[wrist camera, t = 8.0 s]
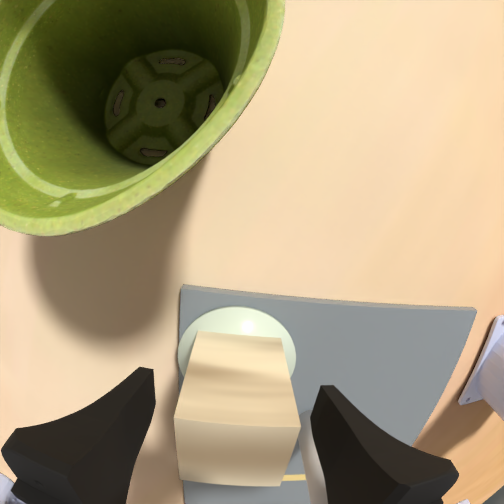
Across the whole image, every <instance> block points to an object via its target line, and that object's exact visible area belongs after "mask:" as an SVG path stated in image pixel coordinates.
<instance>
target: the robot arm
mask: <svg viewBox="0 0 504 504" xmlns="http://www.w3.org/2000/svg"><path fill="white" fill-rule="evenodd" d="M482 399H484V400H485V401H486V402H487V403H488V404H489V405H490V406H491V407H492V409H493V410H494V411H495V412H496V413H497V414H498V415H499V416H500V417H501V419H502V420H503V421H504V315H499V316H497V317H496V318H495V320H494V322H493V325H492V327H491V330H490V333H489V335H488V338H487V340H486V343H485V345H484V348H483V350H482V352H481V355H480V357H479V359H478V361H477V364H476V366H475V368H474V370H473V372H472V374H471V376H470V378H469V380H468V382H467V384H466V386H465V388H464V390H463V392H462V394H461V396H460V398H459V400H458V403H459V404H460V405H464V404H468V403H472V402H475V401H479V400H482ZM155 404H156V400H155V388H154V372H153V369H149V368H144V367H139V368H138V369H136V370H135V371H134V372H133V373H132V374H131V375H129V376H128V377H127V378H126V379H125V380H123V381H122V382H121V383H120V384H119V385H117V386H116V387H115V388H113V389H112V390H111V391H110V392H108V393H107V394H105V395H104V396H102V397H101V398H100V399H98V400H97V401H95V402H94V403H92V404H90V405H89V406H87V407H85V408H83V409H81V410H79V411H77V412H75V413H73V414H70V415H68V416H65V417H63V418H60V419H58V420H54V421H51V422H48V423H44V424H40V425H36V426H30V427H23V428H16V429H15V431H14V432H13V433H12V434H11V436H10V437H9V439H8V440H7V441H6V443H5V444H4V446H3V447H2V449H1V452H2V456H3V458H4V460H5V461H6V463H7V464H8V466H9V467H10V468H11V470H12V471H13V473H14V474H15V475H16V477H17V480H16V482H15V483H14V482H13V481H12V480H11V479H9V478H8V477H7V476H5V475H4V474H2V473H0V504H126V499H127V494H128V489H129V485H130V480H131V476H132V472H133V468H134V464H135V461H136V458H137V456H138V453H139V451H140V448H141V446H142V443H143V441H144V438H145V436H146V433H147V431H148V428H149V426H150V423H151V420H152V416H153V412H154V408H155ZM310 422H311V430H312V436H313V440H314V444H315V447H316V451H317V454H318V458H319V461H320V464H321V468H322V471H323V475H324V480H325V486H326V493H327V500H328V504H443V501H442V499H441V497H442V496H443V495H444V494H445V493H446V492H447V491H448V490H449V489H450V488H451V487H452V486H453V485H454V484H455V482H456V481H457V479H458V477H459V473H458V471H457V470H456V468H455V466H454V465H453V463H452V462H451V460H448V459H445V458H441V457H437V456H434V455H431V454H428V453H425V452H423V451H420V450H418V449H415V448H413V447H411V446H409V445H407V444H405V443H403V442H401V441H399V440H398V439H396V438H394V437H393V436H391V435H390V434H388V433H387V432H385V431H384V430H382V429H381V428H379V427H378V426H377V425H376V424H374V423H373V422H372V421H371V420H369V419H368V418H367V417H366V416H365V415H364V414H363V413H362V412H360V411H359V410H358V409H357V408H356V407H355V406H354V405H353V404H352V403H351V402H350V401H349V400H348V399H347V398H346V397H345V396H344V395H343V394H342V393H341V392H340V391H339V390H338V389H337V388H336V387H335V386H334V385H321V386H320V389H319V392H318V395H317V398H316V401H315V404H314V407H313V410H312V413H311V416H310ZM456 504H470V502H469V500H468V499H465V500H463V501H461V502H459V503H456Z"/></svg>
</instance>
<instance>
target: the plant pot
mask: <svg viewBox="0 0 504 504" xmlns="http://www.w3.org/2000/svg"><path fill="white" fill-rule="evenodd" d="M284 13H285V0H0V225H2V226H3V227H5V228H7V229H9V230H12V231H16V232H20V233H24V234H28V235H37V236H61V235H67V234H72V233H77V232H80V231H84V230H87V229H91V228H93V227H96V226H98V225H101V224H104V223H106V222H108V221H111V220H113V219H115V218H117V217H119V216H122V215H124V214H126V213H127V212H129V211H131V210H133V209H135V208H137V207H138V206H140V205H142V204H143V203H145V202H147V201H148V200H150V199H152V198H154V197H155V196H156V195H158V194H159V193H160V192H162V191H163V190H164V189H166V188H167V187H169V186H170V185H171V184H173V183H174V182H176V181H177V180H178V179H179V178H181V177H182V176H183V175H184V174H185V173H186V172H188V171H189V170H190V169H191V168H192V167H194V166H195V165H196V164H197V163H198V162H199V161H200V160H201V159H202V158H203V157H204V156H205V155H206V154H207V153H208V152H209V151H210V150H211V149H212V148H213V147H214V146H215V145H216V144H217V143H218V142H219V141H220V140H221V139H222V137H223V136H224V135H225V134H226V133H227V132H228V131H229V129H230V128H231V127H232V126H233V125H234V123H235V122H236V121H237V120H238V118H239V117H240V115H241V114H242V112H243V111H244V110H245V108H246V107H247V105H248V104H249V103H250V101H251V99H252V98H253V96H254V95H255V93H256V91H257V90H258V88H259V86H260V84H261V82H262V81H263V79H264V77H265V75H266V73H267V70H268V68H269V66H270V64H271V61H272V59H273V56H274V54H275V51H276V49H277V46H278V42H279V39H280V35H281V31H282V27H283V22H284ZM163 58H182V59H184V60H185V62H186V63H185V64H184V65H180V64H165V63H164V64H160V63H159V61H160V60H161V59H163ZM121 90H124V95H123V98H122V101H121V104H120V112H119V115H118V116H115V115H114V112H113V107H114V103H115V99H116V97H117V95H118V93H119V92H120V91H121ZM210 95H213V97H214V98H215V109H214V110H213V112H212V113H211V114H210V115H209V117H208V118H207V119H206V121H205V122H204V117H205V115H206V112H207V109H208V104H209V100H210V99H209V96H210ZM159 98H161V99H162V98H163V99H164V100H165V101H166V105H165V106H163V107H162V108H158V107H156V106H155V101H156V100H157V99H159ZM141 148H146V149H152V150H166V151H167V153H166V154H165V155H164V156H160V157H154V156H145V155H143V154H142V153H141V152H140V149H141Z"/></svg>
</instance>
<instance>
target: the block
mask: <svg viewBox="0 0 504 504" xmlns="http://www.w3.org/2000/svg"><path fill="white" fill-rule="evenodd" d="M174 429H175V441H176V452H177V461H178V470H179V478H180V480H187V481H194V482H202V483H211V484H222V485H236V486H280V484H281V482H282V479H283V477H284V474H285V471H286V469H287V466H288V463H289V461H290V458H291V455H292V452H293V449H294V446H295V444H296V441H297V438H298V435H299V432H300V429H301V424H300V419H299V415H298V411H297V406H296V402H295V397H294V393H293V388H292V384H291V380H290V375H289V371H288V366H287V362H286V358H285V353H284V349H283V345H282V340H281V338H274V337H260V336H248V335H237V334H226V333H216V332H207V331H199V330H198V332H197V335H196V339H195V342H194V346H193V349H192V353H191V356H190V360H189V363H188V367H187V370H186V374H185V378H184V381H183V385H182V388H181V392H180V396H179V399H178V403H177V407H176V411H175V414H174Z"/></svg>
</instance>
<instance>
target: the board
mask: <svg viewBox="0 0 504 504" xmlns="http://www.w3.org/2000/svg"><path fill="white" fill-rule="evenodd" d="M224 306H247V307H252V308H256V309H259V310H262V311H264V312H266V313H268V314H270V315H272V316H273V317H275V318H276V319H277V320H279V321H280V322H281V323H282V324H283V325H284V326H285V328H286V329H287V330H288V332H289V334H290V336H291V338H292V340H293V343H294V347H295V352H296V363H295V368H294V371H293V374H292V376H291V378H290V380H291V384H292V388H293V393H294V397H295V402H296V406H297V411H298V415H299V419H300V424H301V429H300V432H299V435H298V438H297V441H296V444H295V446H294V449H293V452H292V455H291V458H290V461H289V463H288V466H287V469H286V471H285V474H284V477H283V479H282V482H281V484H280V486H236V485H222V484H211V483H202V482H194V481H187V480H183V487H184V498H185V504H328V500H327V493H326V486H325V480H324V475H323V471H322V468H321V464H320V461H319V458H318V454H317V451H316V447H315V444H314V440H313V436H312V430H311V422H310V416H311V413H312V410H313V407H314V404H315V401H316V398H317V395H318V392H319V389H320V386H321V385H334V386H335V387H336V388H337V389H338V390H339V391H340V392H341V393H342V394H343V395H344V396H345V397H346V398H347V399H348V400H349V401H350V402H351V403H352V404H353V405H354V406H355V407H356V408H357V409H358V410H359V411H360V412H362V413H363V414H364V415H365V416H366V417H367V418H368V419H369V420H371V421H372V422H373V423H374V424H376V425H377V426H378V427H379V428H381V429H382V430H384V431H385V432H387V433H388V434H390V435H391V436H393V437H394V438H396V439H398V440H399V441H401V442H403V443H405V444H407V445H409V446H412V444H413V443H414V441H415V440H416V438H417V437H418V435H419V434H420V432H421V430H422V429H423V427H424V425H425V424H426V422H427V420H428V419H429V417H430V415H431V414H432V412H433V410H434V408H435V406H436V405H437V403H438V401H439V399H440V397H441V395H442V393H443V391H444V389H445V387H446V386H447V383H448V381H449V379H450V377H451V375H452V373H453V371H454V369H455V367H456V364H457V362H458V360H459V358H460V355H461V353H462V350H463V348H464V346H465V343H466V341H467V338H468V335H469V333H470V330H471V328H472V325H473V322H474V319H475V316H476V313H477V310H476V309H474V308H473V307H448V306H423V305H402V304H384V303H368V302H354V301H340V300H327V299H315V298H304V297H293V296H282V295H272V294H262V293H253V292H243V291H234V290H226V289H217V288H209V287H201V286H193V285H185V284H183V286H182V288H181V299H180V327H179V343H180V340H181V338H182V336H183V333H184V332H185V330H186V329H187V327H188V326H189V325H190V324H191V322H192V321H194V320H195V319H196V318H197V317H199V316H200V315H202V314H203V313H205V312H208V311H210V310H212V309H216V308H219V307H224ZM183 381H184V376H183V374H182V372H181V370H180V367H179V396H180V392H181V388H182V385H183Z"/></svg>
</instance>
